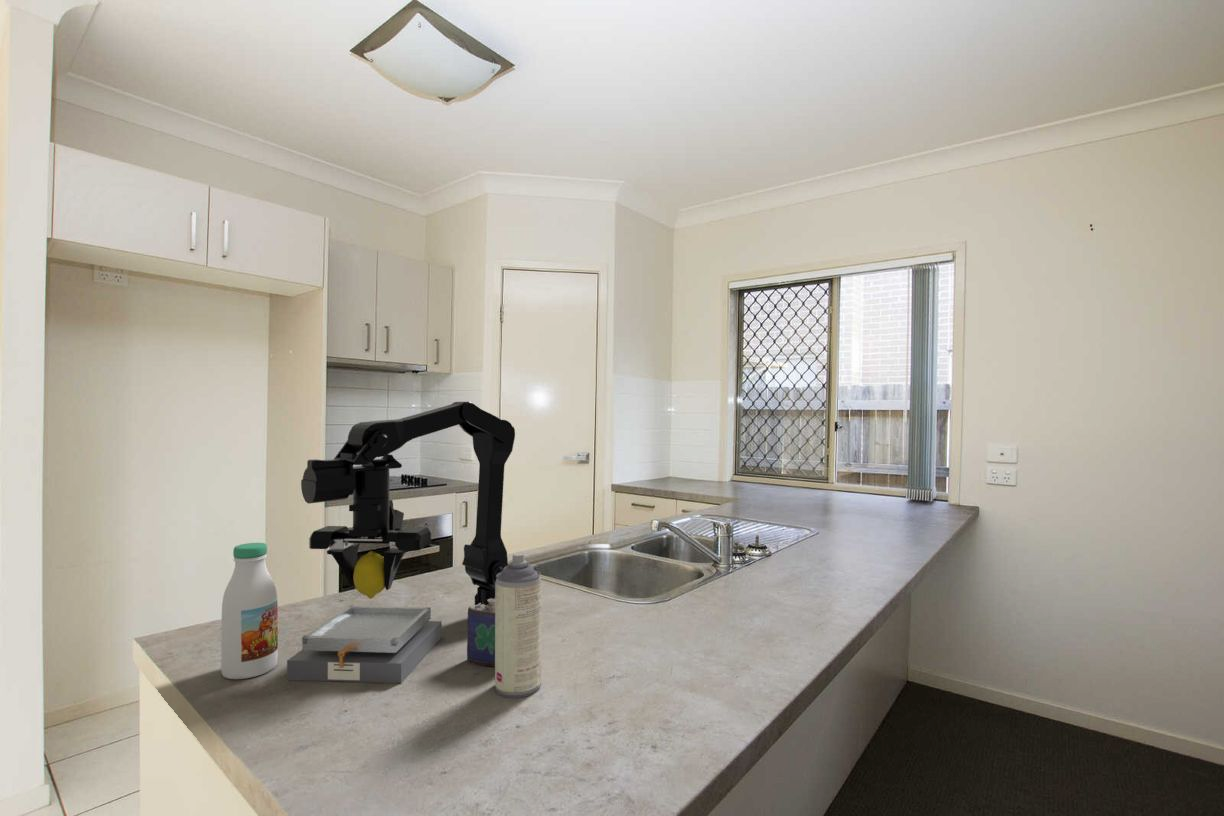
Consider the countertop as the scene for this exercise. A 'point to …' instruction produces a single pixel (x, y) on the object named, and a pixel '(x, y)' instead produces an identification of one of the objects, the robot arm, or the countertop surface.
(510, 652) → the aerosol can
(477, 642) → the flask
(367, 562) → the lemon
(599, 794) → the countertop surface
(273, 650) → the milk bottle
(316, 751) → the countertop surface
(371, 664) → the base
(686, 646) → the countertop surface
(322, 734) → the countertop surface
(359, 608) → the scale pan
